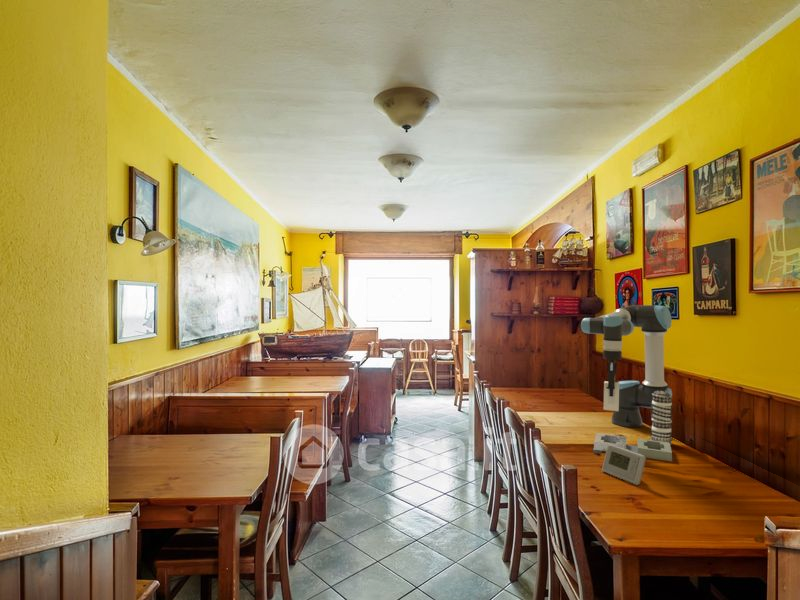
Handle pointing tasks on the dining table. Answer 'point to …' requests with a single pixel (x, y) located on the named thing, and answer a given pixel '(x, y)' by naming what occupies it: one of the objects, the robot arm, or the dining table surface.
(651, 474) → the dining table surface
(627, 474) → the digital clock
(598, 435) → the socket
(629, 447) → the board
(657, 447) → the grey-green cross cutout frame
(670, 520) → the dining table surface
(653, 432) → the decorative candle
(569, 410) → the dining table surface
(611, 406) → the plug
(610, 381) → the robot arm
